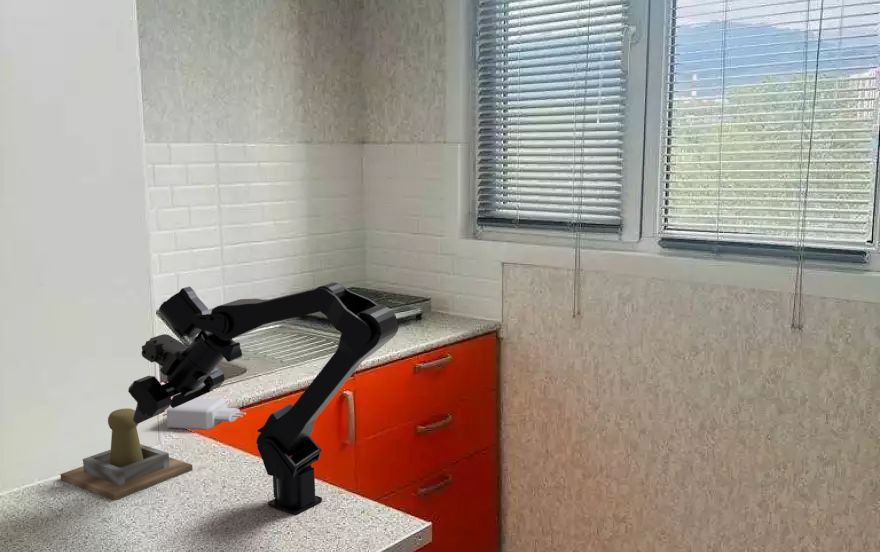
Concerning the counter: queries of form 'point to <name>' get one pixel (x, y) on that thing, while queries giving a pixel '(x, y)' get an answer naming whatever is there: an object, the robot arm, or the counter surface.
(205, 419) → the charger
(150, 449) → the socket base
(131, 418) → the cork
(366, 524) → the counter surface
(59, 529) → the counter surface
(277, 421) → the robot arm
